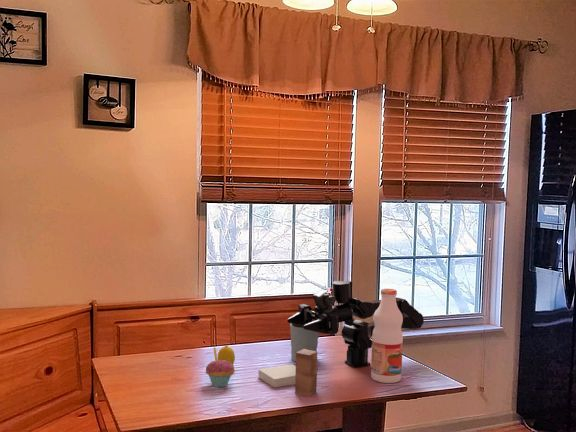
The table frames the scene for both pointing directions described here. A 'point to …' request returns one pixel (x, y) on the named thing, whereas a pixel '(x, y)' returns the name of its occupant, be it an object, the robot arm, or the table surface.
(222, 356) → the lemon
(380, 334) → the fruit juice
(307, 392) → the brown wooden block
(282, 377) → the plate
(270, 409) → the table surface
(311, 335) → the grey cup
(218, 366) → the cupcake
